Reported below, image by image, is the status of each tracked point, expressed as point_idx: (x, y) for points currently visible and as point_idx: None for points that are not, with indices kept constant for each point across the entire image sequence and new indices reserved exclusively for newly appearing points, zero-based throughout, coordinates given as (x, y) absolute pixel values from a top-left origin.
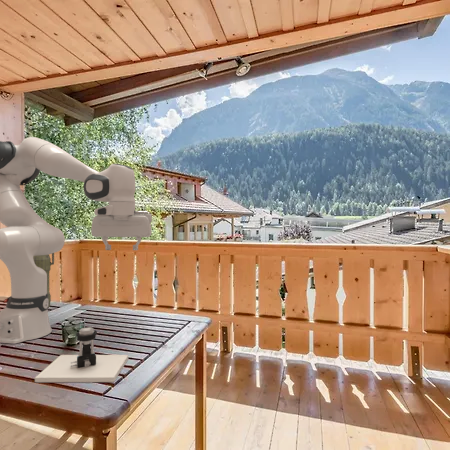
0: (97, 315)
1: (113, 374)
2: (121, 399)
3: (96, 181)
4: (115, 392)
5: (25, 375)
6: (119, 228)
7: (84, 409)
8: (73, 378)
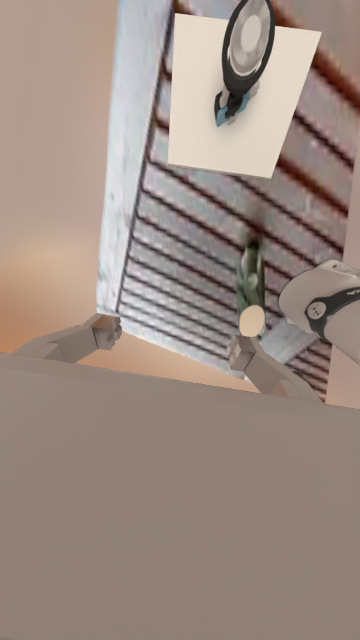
0: (225, 346)
1: (178, 36)
2: None
3: None
4: None
5: (327, 94)
6: (154, 518)
7: None
8: None
